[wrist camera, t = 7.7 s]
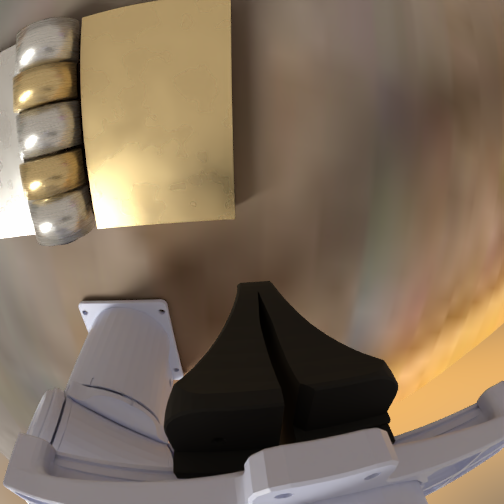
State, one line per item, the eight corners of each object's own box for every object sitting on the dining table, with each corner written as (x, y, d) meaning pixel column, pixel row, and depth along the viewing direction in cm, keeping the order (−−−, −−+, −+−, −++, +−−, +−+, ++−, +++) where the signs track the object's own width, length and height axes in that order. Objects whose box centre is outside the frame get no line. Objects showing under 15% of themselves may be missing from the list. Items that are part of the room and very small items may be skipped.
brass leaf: (233, 208, 20) (237, 234, 16) (53, 223, 19) (25, 249, 15) (229, 4, 14) (232, -21, 10) (36, 43, 13) (2, 36, 9)
